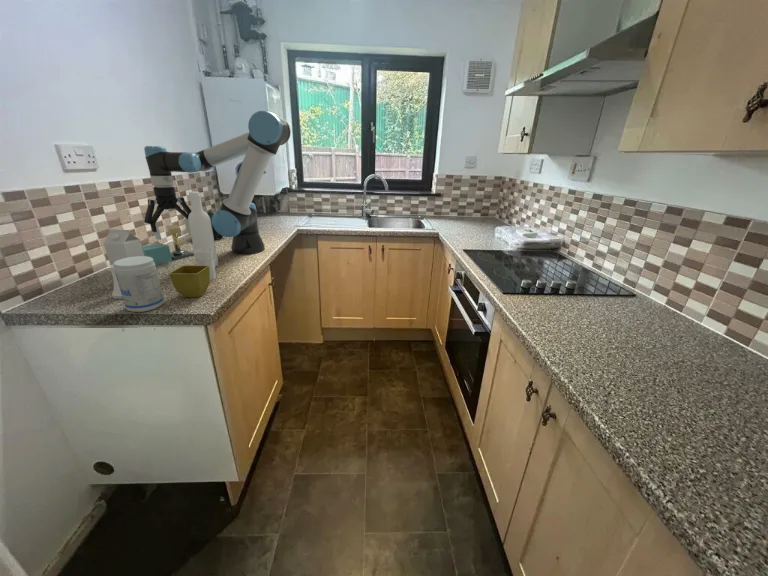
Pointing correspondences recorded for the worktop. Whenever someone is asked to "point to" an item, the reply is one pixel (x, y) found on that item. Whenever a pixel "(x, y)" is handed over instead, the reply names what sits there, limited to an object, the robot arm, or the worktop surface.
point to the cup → (206, 259)
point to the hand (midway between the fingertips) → (174, 236)
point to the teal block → (157, 252)
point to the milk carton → (122, 245)
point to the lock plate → (180, 254)
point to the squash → (215, 233)
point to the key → (175, 235)
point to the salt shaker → (115, 284)
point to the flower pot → (191, 280)
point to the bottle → (200, 226)
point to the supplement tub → (139, 283)
